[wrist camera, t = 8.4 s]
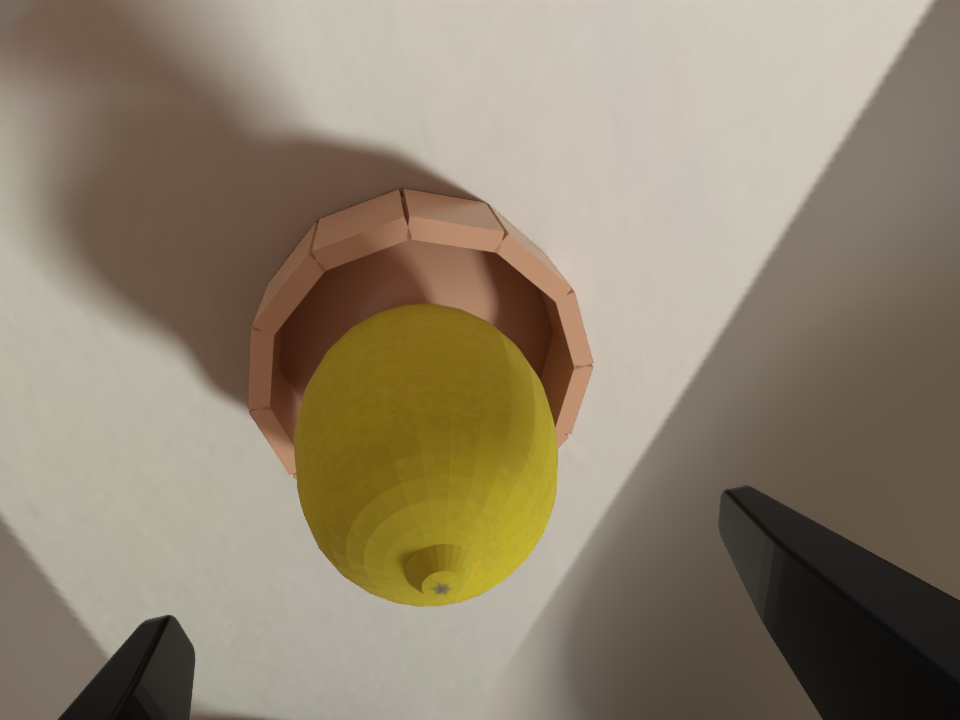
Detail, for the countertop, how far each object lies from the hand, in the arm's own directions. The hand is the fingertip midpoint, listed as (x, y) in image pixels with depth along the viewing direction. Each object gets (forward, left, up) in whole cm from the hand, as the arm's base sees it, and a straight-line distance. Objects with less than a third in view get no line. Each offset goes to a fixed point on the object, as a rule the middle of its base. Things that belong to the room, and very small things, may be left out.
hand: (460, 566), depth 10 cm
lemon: (0, 0, -8) cm, 8 cm away
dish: (0, 0, -8) cm, 8 cm away
